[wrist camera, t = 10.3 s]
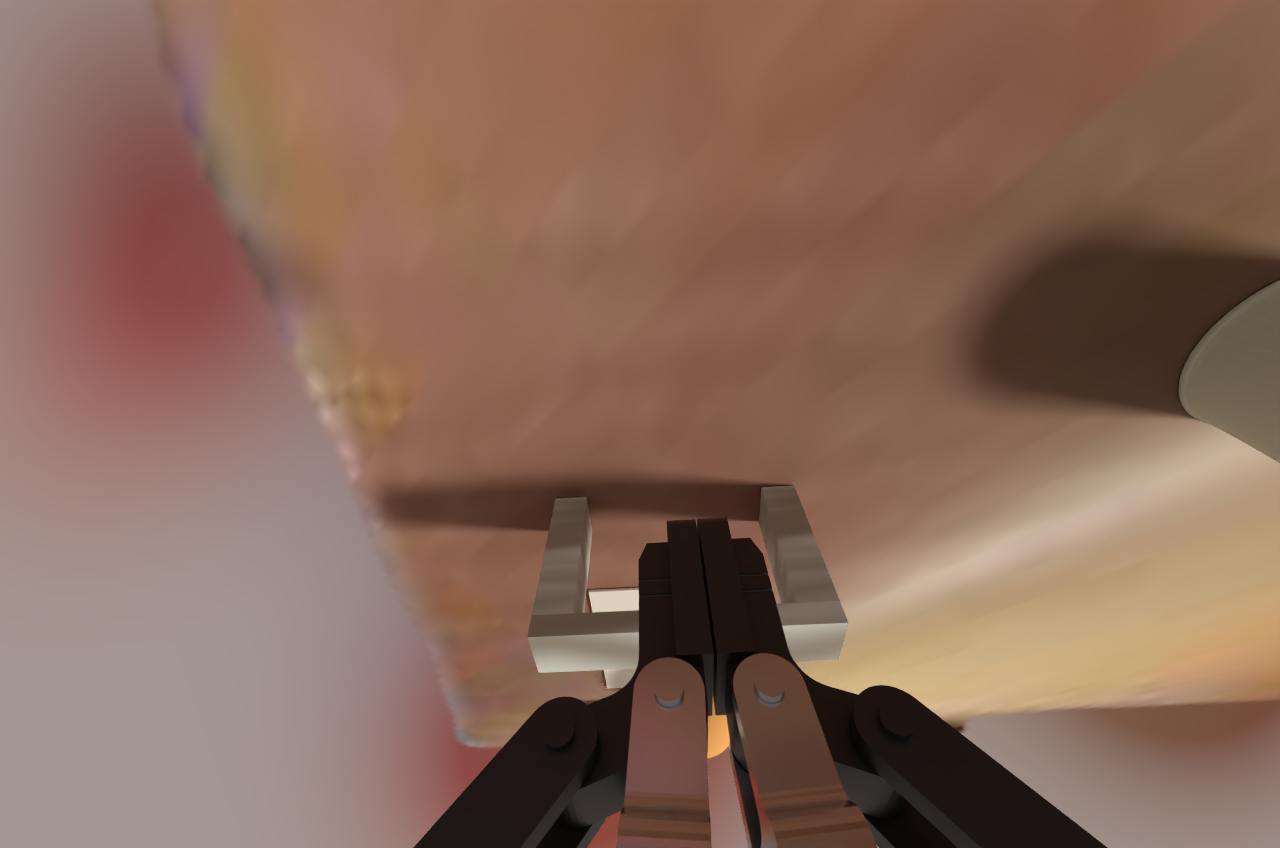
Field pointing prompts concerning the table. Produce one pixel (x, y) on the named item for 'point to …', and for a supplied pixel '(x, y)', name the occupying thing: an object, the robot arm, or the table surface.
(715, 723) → the ball
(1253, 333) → the can
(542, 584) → the bridge
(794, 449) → the table surface
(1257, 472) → the table surface
